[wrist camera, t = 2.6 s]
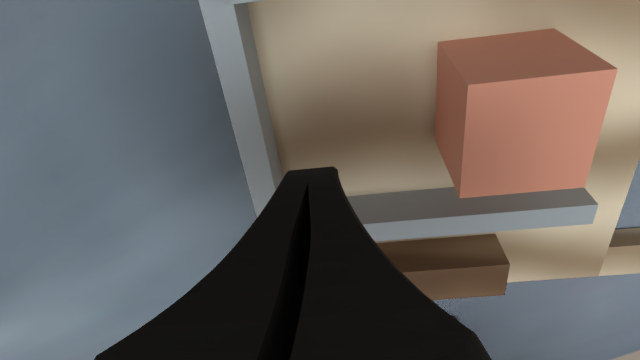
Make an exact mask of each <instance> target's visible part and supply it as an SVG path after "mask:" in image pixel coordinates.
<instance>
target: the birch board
mask: <svg viewBox="0 0 640 360" xmlns="http://www.w3.org/2000/svg"><path fill="white" fill-rule="evenodd" d="M247 7H248V12H249V16H250V21H251V26H252V31H253V36H254V40H255V45H256V50H257V55H258V60H259V64H260V69H261V74H262V79H263V84H264V88H265V93H266V98H267V103H268V108H269V112H270V117H271V122H272V127H273V132H274V136H275V141H276V146H277V151H278V156H279V160H280V165H281V170H282V175H283V177H284V175H285V174H286V173H287V172H288V171H289V170H300V169H310V168H321V167H331V166H334V167H335V168H336V169H338V175H339V179H340V182H341V185H342V188H343V190H344V192H345V195H346V196H357V195H368V194H379V193H390V192H401V191H412V190H424V189H435V188H446V187H454V184H453V182H452V179H451V177H450V175H449V172H448V170H447V167H446V165H445V163H444V160H443V158H442V156H441V153H440V151H439V148H438V146H437V144H436V141H435V115H436V84H437V53H438V42H440V41H448V40H457V39H466V38H474V37H483V36H491V35H500V34H508V33H517V32H525V31H534V30H542V29H551V28H555V29H556V30H558V31H559V32H561V33H563V34H564V35H566V36H567V37H569V38H570V39H572V40H574V41H575V42H577V43H578V44H580V45H581V46H583V47H585V48H586V49H588V50H589V51H591V52H592V53H594V54H596V55H597V56H599V57H600V58H602V59H603V60H605V61H607V62H608V63H610V64H611V65H613V66H614V67H616V68H618V71H617V74H616V78H615V81H614V85H613V89H612V92H611V96H610V99H609V103H608V107H607V110H606V114H605V117H604V121H603V124H602V128H601V132H600V135H599V139H598V142H597V146H596V150H595V153H594V157H593V160H592V164H591V167H590V171H589V175H588V178H587V182H586V185H585V187H584V188H585V189H586V190H587V191H588V193H589V194H590V195H591V196H592V197H593V199H594V200H595V201H596V202H597V203H598V204H599V205H598V208H597V211H596V214H595V218H594V221H593V224H585V225H573V226H560V227H548V228H536V229H523V230H511V231H499V232H486V233H474V234H461V235H449V236H437V237H424V238H412V239H399V240H387V241H375V243H386V242H399V241H411V240H424V239H436V238H449V237H461V236H473V235H486V234H496V236H497V238H498V240H499V242H500V244H501V246H502V248H503V251H504V253H505V255H506V257H507V259H508V261H509V263H510V268H509V274H508V279H507V282H521V281H535V280H549V279H563V278H577V277H591V276H605V275H619V274H633V273H640V228H627V229H615V227H616V224H617V222H618V219H619V216H620V213H621V210H622V207H623V205H624V202H625V199H626V196H627V193H628V190H629V187H630V185H631V182H632V179H633V176H634V173H635V170H636V168H637V165H638V162H639V159H640V0H262V1H254V2H247Z"/></svg>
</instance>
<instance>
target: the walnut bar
mask: <svg viewBox="0 0 640 360" xmlns="http://www.w3.org/2000/svg"><path fill="white" fill-rule="evenodd" d="M376 244H377V245H378V246H379V248H380V249H381V250H382V251H383V252H384V254H385V255H386V256H387V257H388V258H389V259H390V260H391V262H392V263H393V264H394V265H395V266H396V267H397V268H398V269H399V270H400V271H401V272H402V273H403V274H404V275H405V276H406V277H407V278H408V279H409V280H410V281H411V282H412V283H413V284H414V285H415V286H416V287H417V288H418V289H420V290H421V291H422V292H423V293H424V294H425V295H426V296H427V297H429V298H430V299H431V300H438V299H453V298H467V297H482V296H496V295H505V290H506V285H507V279H508V274H509V268H510V263H509V261H508V259H507V257H506V255H505V253H504V251H503V248H502V246H501V244H500V242H499V240H498V238H497V236H496V234H486V235H473V236H461V237H449V238H436V239H424V240H411V241H399V242H386V243H376Z"/></svg>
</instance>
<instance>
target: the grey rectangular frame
mask: <svg viewBox="0 0 640 360" xmlns="http://www.w3.org/2000/svg"><path fill="white" fill-rule="evenodd" d="M254 1H262V0H199V4H200V7H201V11H202V15H203V19H204V22H205V26H206V30H207V33H208V37H209V41H210V45H211V48H212V52H213V56H214V60H215V63H216V67H217V71H218V75H219V78H220V82H221V86H222V90H223V93H224V97H225V101H226V104H227V108H228V112H229V116H230V119H231V123H232V127H233V131H234V134H235V138H236V142H237V146H238V149H239V153H240V157H241V161H242V164H243V168H244V172H245V175H246V179H247V183H248V187H249V190H250V194H251V198H252V202H253V205H254V209H255V213H256V217H258V216H259V215H260V213H261V212H262V210H263V209H264V207H265V206H266V204H267V203H268V202H269V200H270V198H271V197H272V195H273V194H274V192H275V191H276V189H277V187H278V186H279V184H280V182H281V181H282V179H283V175H282V170H281V165H280V160H279V156H278V151H277V146H276V141H275V136H274V132H273V127H272V122H271V117H270V112H269V108H268V103H267V98H266V93H265V88H264V84H263V79H262V74H261V69H260V64H259V60H258V55H257V50H256V45H255V40H254V36H253V31H252V26H251V21H250V16H249V12H248V7H247V2H254ZM346 197H347V199H348V201H349V202H350V204H351V206H352V208H353V210H354V211H355V213H356V215H357V216H358V218H359V220H360V221H361V223H362V224H363V226H364V227H365V229H366V230H367V232H368V233H369V234H370V236H371V237H372V239H373V240H374V241H387V240H399V239H412V238H424V237H437V236H449V235H461V234H474V233H486V232H499V231H511V230H523V229H536V228H548V227H560V226H573V225H585V224H593V221H594V218H595V214H596V211H597V208H598V205H599V204H598V203H597V202H596V201H595V200H594V199H593V197H592V196H591V195H590V194H589V193H588V191H587V190H586V189H585V188H573V189H561V190H550V191H538V192H527V193H515V194H504V195H493V196H481V197H470V198H459V196H458V194H457V191H456V189H455V187H446V188H435V189H424V190H412V191H401V192H390V193H379V194H368V195H357V196H346Z"/></svg>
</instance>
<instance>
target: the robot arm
mask: <svg viewBox="0 0 640 360" xmlns="http://www.w3.org/2000/svg"><path fill="white" fill-rule="evenodd" d="M94 360H491V358H490V356H489V355H488V353H487V351H486V350H485V348H484V346H483V345H482V343H481V342H480V340H479V338H478V337H477V335H476V334H475V333H474V332H473V331H471V330H470V329H468V328H467V327H466V326H464V325H463V324H461V323H460V322H459V321H457V320H456V319H455V318H453V317H452V316H451V315H449V314H448V313H447V312H446V311H444V310H443V309H442V308H440V307H439V306H438V305H437V304H436V303H434V302H433V301H432V300H431V299H430V298H429V297H427V296H426V295H425V294H424V293H423V292H422V291H421V290H420V289H418V288H417V287H416V286H415V285H414V284H413V283H412V282H411V281H410V280H409V279H408V278H407V277H406V276H405V275H404V274H403V273H402V272H401V271H400V270H399V269H398V268H397V267H396V266H395V265H394V264H393V263H392V262H391V260H390V259H389V258H388V257H387V256H386V255H385V254H384V252H383V251H382V250H381V249H380V248H379V246H378V245H377V244H376V243H375V241H374V240H373V239H372V237H371V236H370V234H369V233H368V232H367V230H366V229H365V227H364V226H363V224H362V223H361V221H360V220H359V218H358V216H357V215H356V213H355V211H354V210H353V208H352V206H351V204H350V202H349V201H348V199H347V197H346V195H345V192H344V190H343V188H342V185H341V182H340V179H339V175H338V169H336V168H335V167H334V166H331V167H321V168H310V169H300V170H289V171H288V172H287V173H286V174H285V175H284V177H283V179H282V181H281V182H280V184H279V186H278V187H277V189H276V191H275V192H274V194H273V195H272V197H271V198H270V200H269V202H268V203H267V204H266V206H265V207H264V209H263V210H262V212H261V213H260V215H259V216H258V217H257V219H256V220H255V222H254V223H253V224H252V225H251V227H250V228H249V229H248V231H247V232H246V233H245V234H244V236H243V237H242V238H241V239H240V241H239V242H238V243H237V244H236V245H235V247H234V248H233V249H232V250H231V251H230V252H229V253H228V254H227V256H226V257H225V258H224V259H223V260H222V261H221V262H220V263H219V264H218V265H217V266H216V267H215V268H214V269H213V270H212V271H211V272H210V273H209V274H208V275H206V276H205V277H204V278H203V279H202V280H201V281H200V282H199V283H197V284H196V285H195V286H194V287H193V288H192V289H191V290H190V291H188V292H187V293H186V294H185V295H184V296H183V297H181V298H180V299H179V300H177V301H176V302H175V303H174V304H172V305H171V306H170V307H169V308H167V309H166V310H165V311H163V312H162V313H160V314H159V315H158V316H156V317H155V318H154V319H152V320H151V321H149V322H148V323H147V324H145V325H144V326H142V327H141V328H139V329H138V330H136V331H135V332H133V333H132V334H130V335H129V336H127V337H125V338H124V339H122V340H121V341H119V342H118V343H116V344H115V345H113V346H111V347H110V348H108V349H107V350H105V351H104V352H102V353H100V354H99V355H97V356H96V357H95V359H94Z"/></svg>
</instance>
